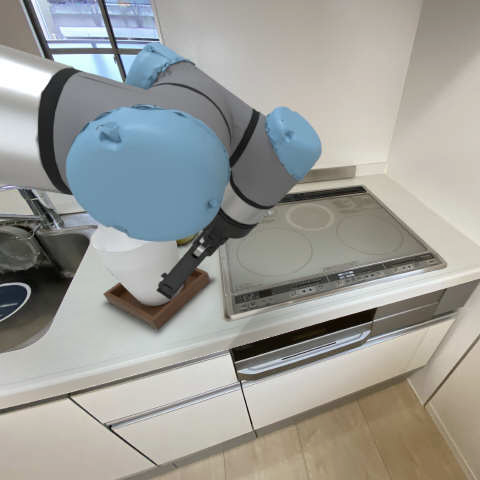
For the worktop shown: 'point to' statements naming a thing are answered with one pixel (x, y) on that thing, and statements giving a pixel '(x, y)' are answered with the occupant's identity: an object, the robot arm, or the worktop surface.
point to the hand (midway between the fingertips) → (188, 267)
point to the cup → (136, 262)
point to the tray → (158, 313)
